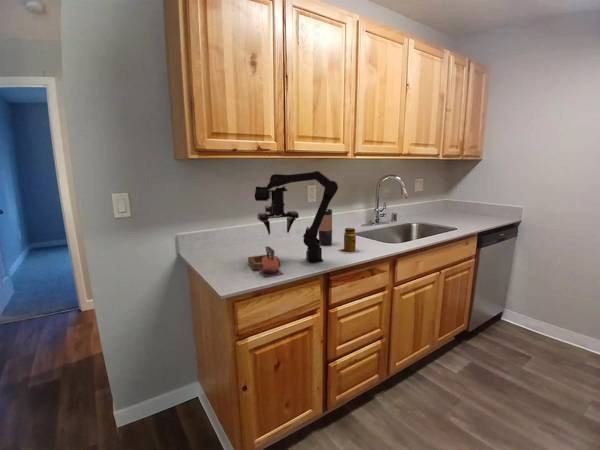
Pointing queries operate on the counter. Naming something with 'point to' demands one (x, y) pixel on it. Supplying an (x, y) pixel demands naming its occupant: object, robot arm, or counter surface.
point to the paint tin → (270, 263)
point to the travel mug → (326, 229)
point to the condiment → (349, 241)
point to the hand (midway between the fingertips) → (278, 233)
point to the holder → (257, 262)
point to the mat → (270, 275)
